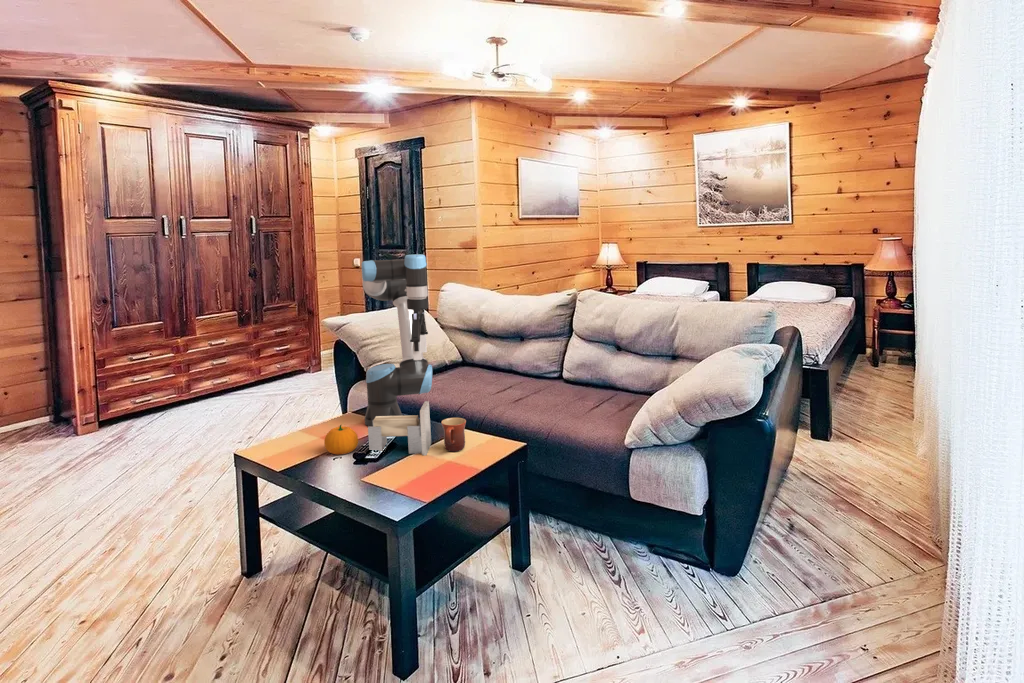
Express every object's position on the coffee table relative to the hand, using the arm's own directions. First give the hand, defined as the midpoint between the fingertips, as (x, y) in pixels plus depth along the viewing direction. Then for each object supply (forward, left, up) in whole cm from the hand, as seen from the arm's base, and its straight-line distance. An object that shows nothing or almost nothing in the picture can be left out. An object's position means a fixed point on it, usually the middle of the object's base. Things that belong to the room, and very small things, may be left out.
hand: (420, 356), depth 224 cm
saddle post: (+11, -15, -32) cm, 37 cm away
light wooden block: (+11, -8, -26) cm, 29 cm away
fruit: (+11, -28, -32) cm, 44 cm away
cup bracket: (+11, -1, -32) cm, 34 cm away
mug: (+13, +12, -32) cm, 36 cm away
